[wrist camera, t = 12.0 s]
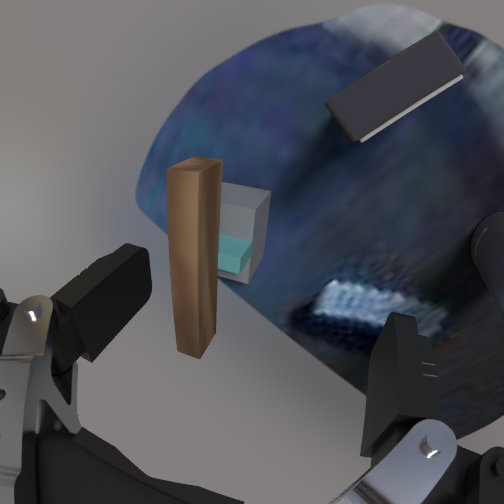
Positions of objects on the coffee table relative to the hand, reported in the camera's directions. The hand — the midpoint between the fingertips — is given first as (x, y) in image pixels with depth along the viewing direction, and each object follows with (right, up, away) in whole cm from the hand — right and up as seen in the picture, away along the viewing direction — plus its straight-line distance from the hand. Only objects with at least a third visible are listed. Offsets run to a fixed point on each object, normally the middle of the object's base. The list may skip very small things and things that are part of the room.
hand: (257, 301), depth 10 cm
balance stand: (-2, +6, +34) cm, 34 cm away
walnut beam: (-5, +1, +24) cm, 25 cm away
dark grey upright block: (+15, +20, +20) cm, 32 cm away
